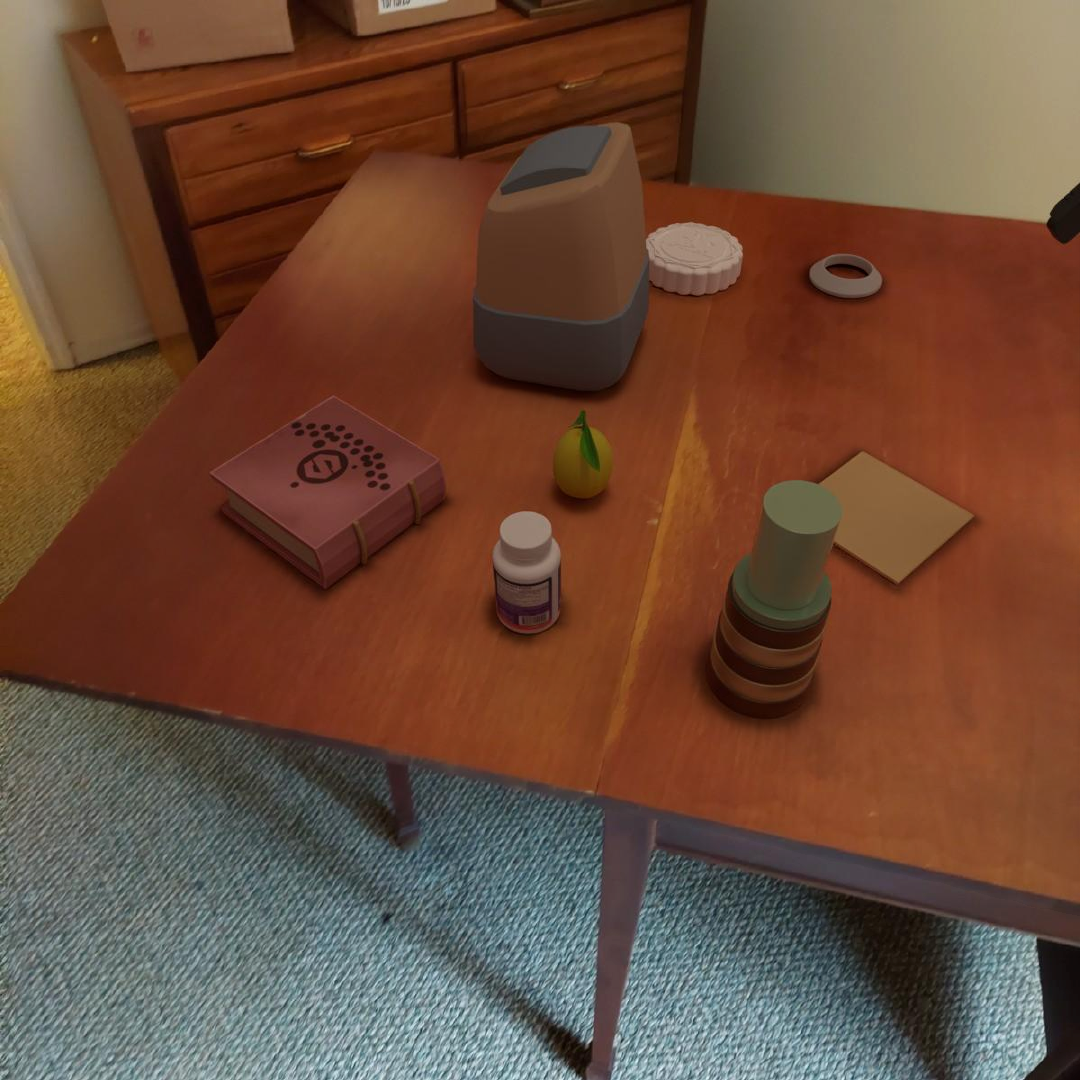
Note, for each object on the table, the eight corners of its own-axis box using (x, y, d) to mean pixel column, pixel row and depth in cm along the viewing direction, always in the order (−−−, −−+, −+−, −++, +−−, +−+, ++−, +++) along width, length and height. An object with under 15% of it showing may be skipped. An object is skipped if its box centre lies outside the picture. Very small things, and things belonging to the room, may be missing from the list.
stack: (830, 677, 75) (860, 594, 67) (765, 737, 71) (789, 656, 64) (750, 618, 79) (770, 534, 71) (685, 672, 75) (699, 589, 68)
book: (332, 594, 81) (321, 554, 77) (223, 512, 88) (209, 472, 84) (451, 503, 88) (446, 463, 85) (341, 435, 95) (333, 395, 92)
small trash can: (512, 300, 112) (505, 98, 95) (652, 321, 109) (670, 115, 92) (465, 384, 101) (448, 171, 84) (620, 410, 98) (634, 194, 81)
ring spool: (848, 594, 67) (878, 508, 61) (788, 646, 64) (813, 561, 58) (772, 542, 71) (793, 456, 65) (711, 589, 68) (727, 503, 62)
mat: (973, 518, 87) (974, 515, 86) (897, 585, 81) (898, 582, 81) (861, 453, 93) (862, 450, 92) (784, 512, 87) (784, 509, 87)
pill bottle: (518, 577, 82) (514, 495, 75) (572, 601, 80) (574, 519, 73) (483, 619, 79) (476, 538, 72) (539, 645, 77) (537, 565, 70)
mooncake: (756, 262, 117) (760, 235, 115) (712, 307, 111) (716, 280, 108) (669, 235, 122) (672, 209, 119) (622, 278, 115) (624, 251, 113)
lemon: (597, 527, 86) (601, 443, 79) (539, 507, 88) (538, 423, 81) (626, 482, 90) (632, 398, 83) (570, 464, 92) (572, 380, 85)
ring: (871, 261, 117) (875, 248, 116) (888, 299, 112) (892, 285, 110) (803, 261, 117) (805, 248, 116) (816, 299, 112) (819, 285, 110)
